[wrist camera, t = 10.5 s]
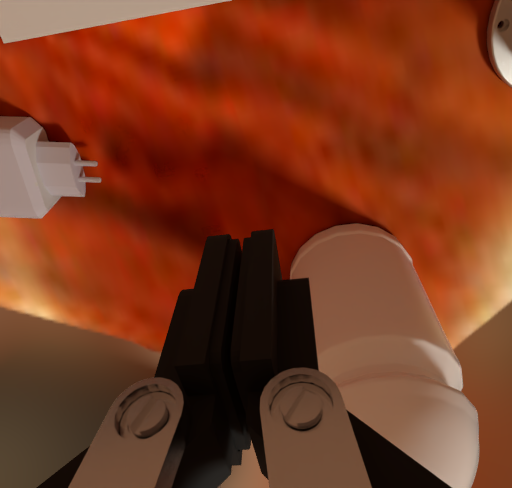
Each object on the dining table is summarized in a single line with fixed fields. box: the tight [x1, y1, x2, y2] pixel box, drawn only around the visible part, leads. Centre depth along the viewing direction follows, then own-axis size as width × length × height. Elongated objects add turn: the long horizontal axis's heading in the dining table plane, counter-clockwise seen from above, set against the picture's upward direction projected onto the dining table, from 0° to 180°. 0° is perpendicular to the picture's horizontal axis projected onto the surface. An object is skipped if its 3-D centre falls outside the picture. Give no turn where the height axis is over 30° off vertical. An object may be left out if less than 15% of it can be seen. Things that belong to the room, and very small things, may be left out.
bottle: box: [290, 223, 479, 488], centre depth 35 cm, size 14×14×28 cm
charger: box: [0, 116, 101, 218], centre depth 39 cm, size 5×9×15 cm
